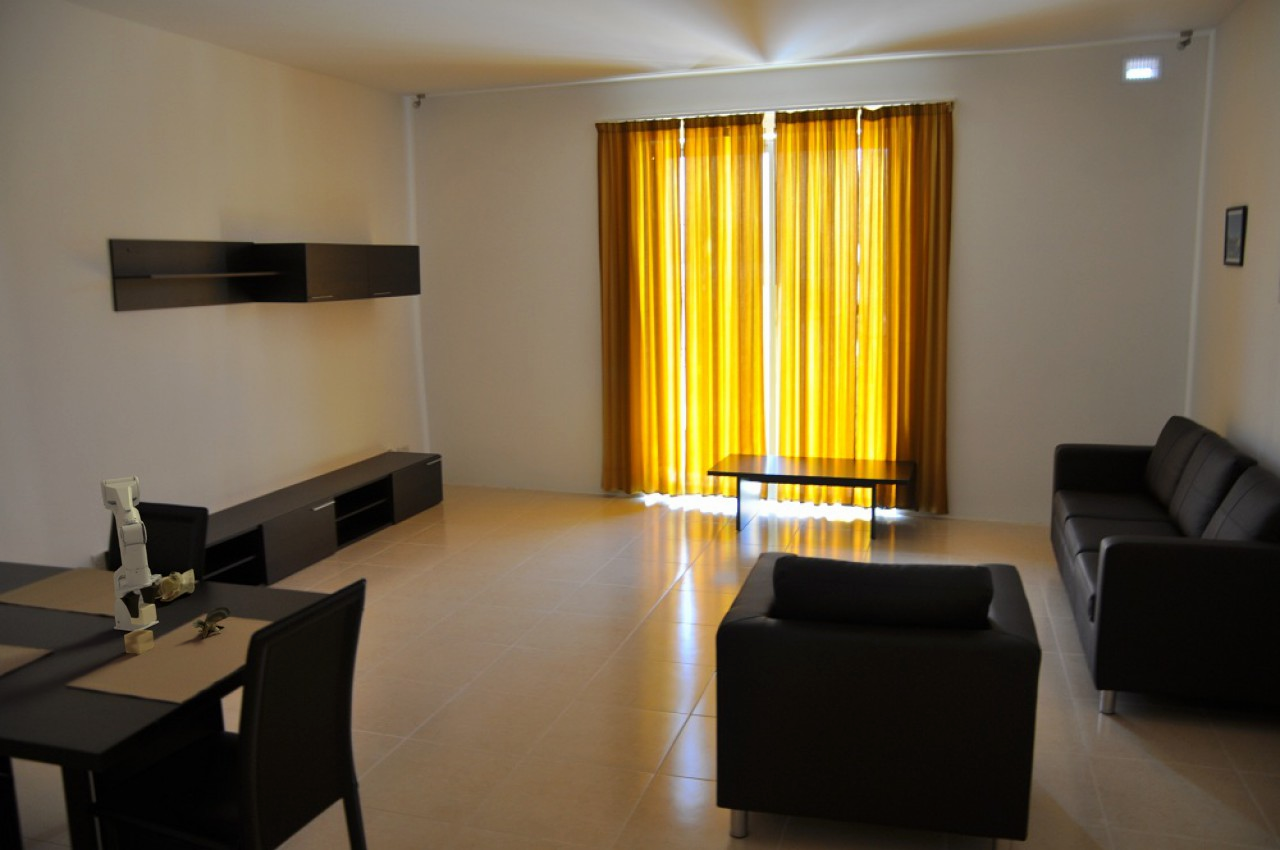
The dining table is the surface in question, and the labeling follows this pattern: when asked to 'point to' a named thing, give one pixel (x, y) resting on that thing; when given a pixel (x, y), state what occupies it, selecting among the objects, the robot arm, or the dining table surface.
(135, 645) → the oak base block
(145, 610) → the cream block
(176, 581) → the ceramic sculpture
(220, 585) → the dining table surface
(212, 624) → the eagle figurine
